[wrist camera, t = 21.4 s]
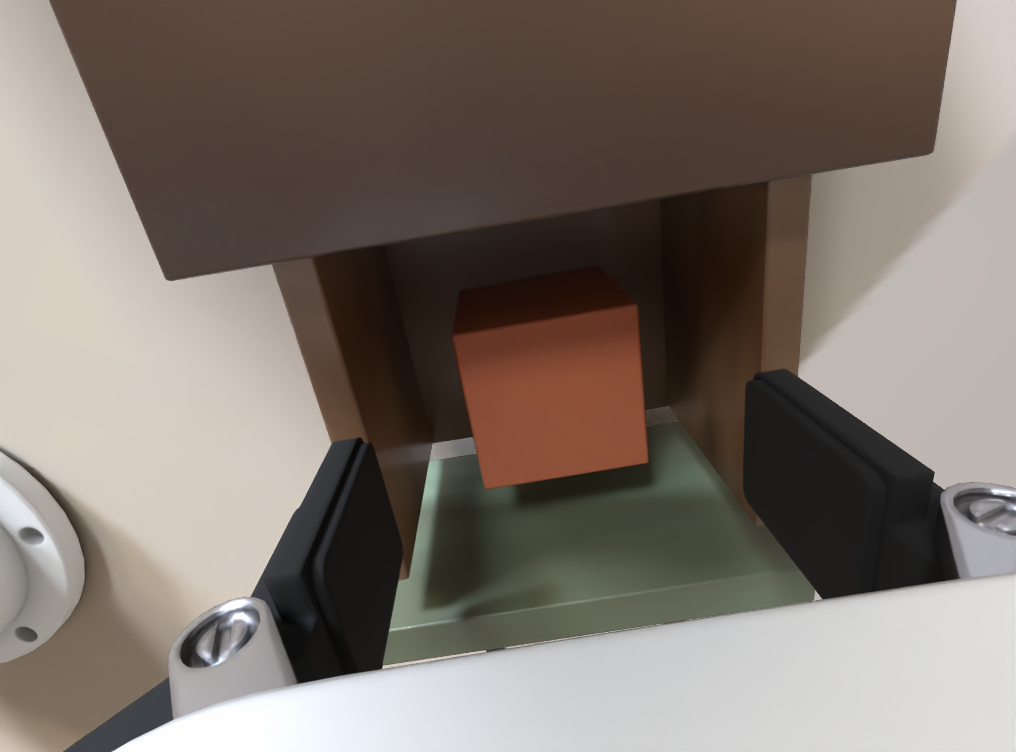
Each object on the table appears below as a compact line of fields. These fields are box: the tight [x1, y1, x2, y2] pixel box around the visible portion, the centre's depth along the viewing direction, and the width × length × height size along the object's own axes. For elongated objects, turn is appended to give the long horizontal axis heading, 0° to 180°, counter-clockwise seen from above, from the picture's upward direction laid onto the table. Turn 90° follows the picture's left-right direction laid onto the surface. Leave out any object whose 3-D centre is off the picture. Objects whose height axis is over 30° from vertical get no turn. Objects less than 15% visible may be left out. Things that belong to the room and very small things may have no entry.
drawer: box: [272, 174, 815, 665], centre depth 15 cm, size 19×11×8 cm, turn 9°
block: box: [451, 267, 649, 489], centre depth 15 cm, size 4×4×4 cm
